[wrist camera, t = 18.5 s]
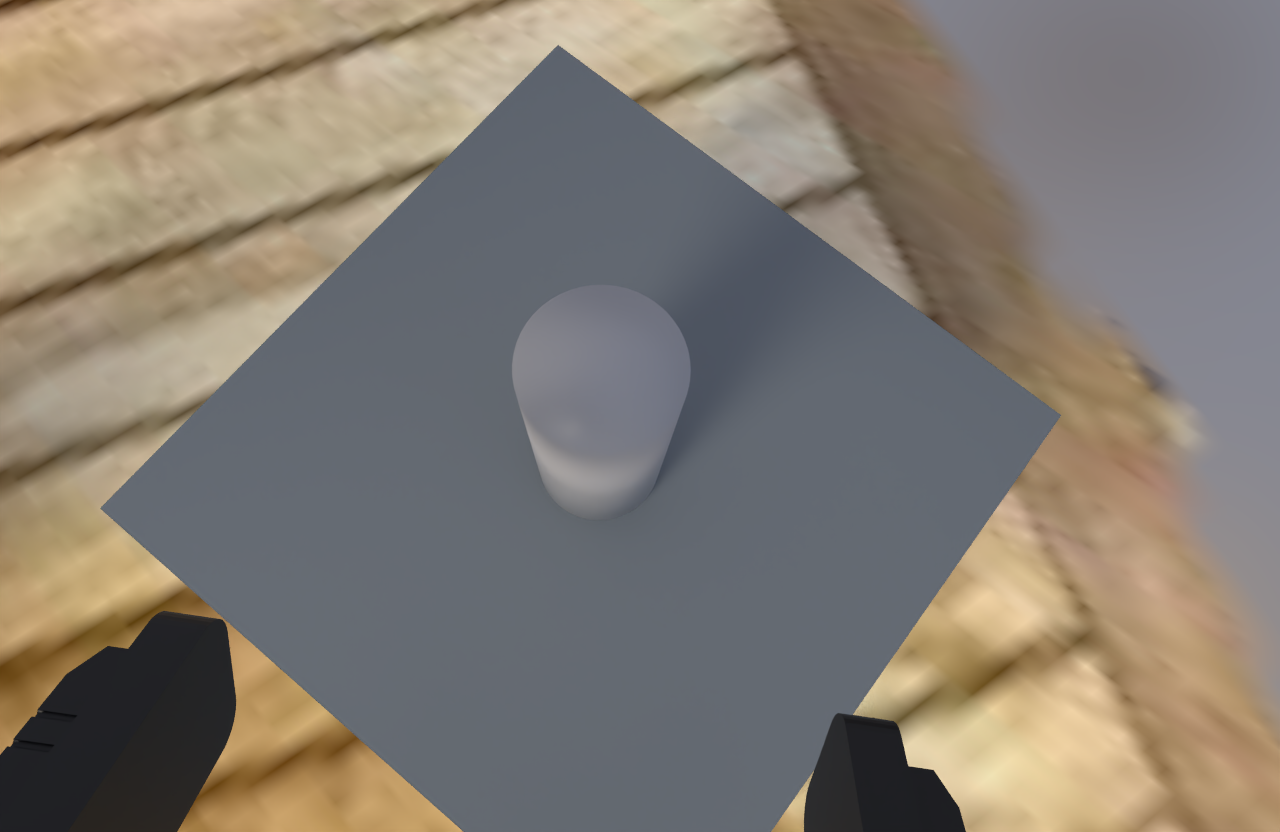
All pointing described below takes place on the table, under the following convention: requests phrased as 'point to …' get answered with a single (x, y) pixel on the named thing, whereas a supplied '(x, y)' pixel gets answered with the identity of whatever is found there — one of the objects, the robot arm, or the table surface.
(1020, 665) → the table surface
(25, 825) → the robot arm
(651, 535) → the cover
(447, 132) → the table surface
